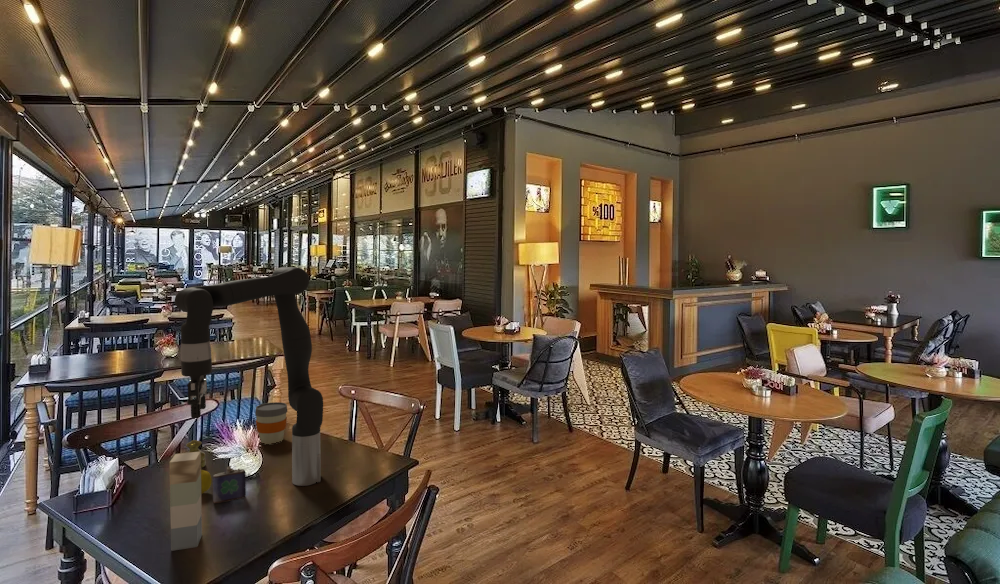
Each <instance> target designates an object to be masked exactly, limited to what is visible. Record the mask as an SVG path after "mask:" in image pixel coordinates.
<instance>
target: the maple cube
mask: <svg viewBox="0 0 1000 584" xmlns="http://www.w3.org/2000/svg"><path fill="white" fill-rule="evenodd" d="M201 451H202V450H201ZM201 451H200V452H190V453H187V452H182V453H175V454H174V456H172V458H171V459H170V461H169V486H170V485H171V484H180V483H188V482H196V481H197V479H198V477H199V475H200V474H201V470H202V468H201Z"/></svg>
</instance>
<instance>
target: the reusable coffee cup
mask: <svg viewBox="0 0 1000 584" xmlns="http://www.w3.org/2000/svg"><path fill="white" fill-rule="evenodd" d="M287 413H288V405H287V403H285V402H277V401H274V402H266V403H261V404H259V405H257V406H256V407H255V413H254V414H255V417H256V420H255V424H256V431H257V432H258V437H259V436H260V438H259V440H260V439H261V442H262V443H265V444H264V445H266V444H269V445H272V444H271V443H276V442H279V441H281V442H282V440H284V436H285V435H284V434H285V430H286V427H287V420H288V419H287V418H288V417H287ZM279 443H280V442H279ZM276 444H277V443H276Z"/></svg>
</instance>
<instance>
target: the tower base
mask: <svg viewBox="0 0 1000 584" xmlns="http://www.w3.org/2000/svg"><path fill="white" fill-rule="evenodd" d="M202 516H203V514H202V515H201V517H200V519H199V522H198V524H197V525H195V526H188V527H181V528H174V529H171V528H170V549H171V552H173V551H178V550H179V551H180V550H185V549H192V548H193V549H194V548H198V547H199V543H200V541H201V538H202V536H203V522H202V521H203V520H202V519H203V518H202Z"/></svg>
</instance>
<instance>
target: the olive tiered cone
mask: <svg viewBox="0 0 1000 584" xmlns="http://www.w3.org/2000/svg"><path fill="white" fill-rule="evenodd" d="M201 445H202V441H200V440H197V439H192V440H191V441H189V442H187V443H185V447H187V448H188V449H189V450H188V452H186V453H190V452H200V451H201V469H203V468H204V467H205V466H206V463H207V462H206V457H207V454H206V453H205V452H204V451H202V450H201V449H199V447H200V446H201Z"/></svg>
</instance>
